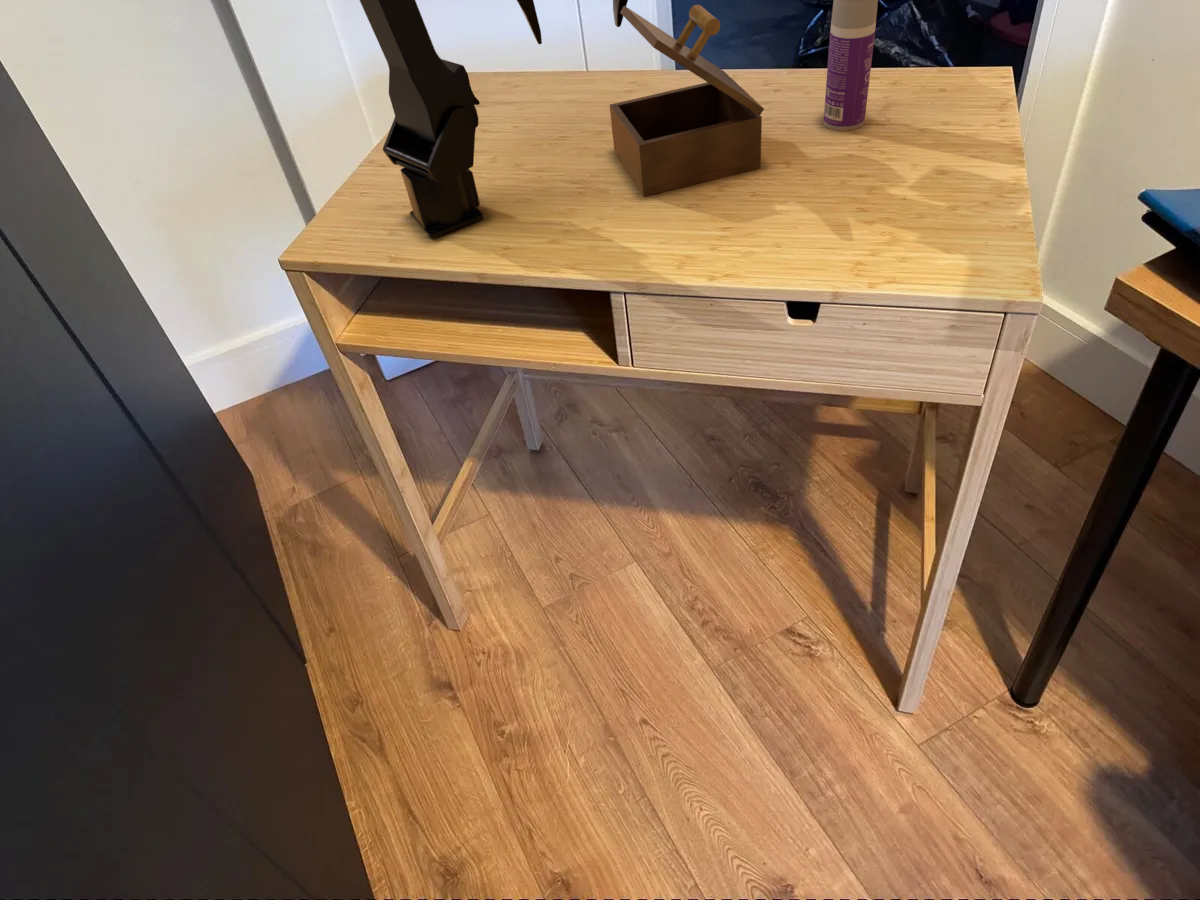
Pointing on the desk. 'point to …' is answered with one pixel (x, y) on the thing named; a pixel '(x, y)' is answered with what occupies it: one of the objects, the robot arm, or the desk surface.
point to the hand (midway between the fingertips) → (578, 34)
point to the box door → (693, 51)
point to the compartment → (685, 137)
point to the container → (849, 63)
